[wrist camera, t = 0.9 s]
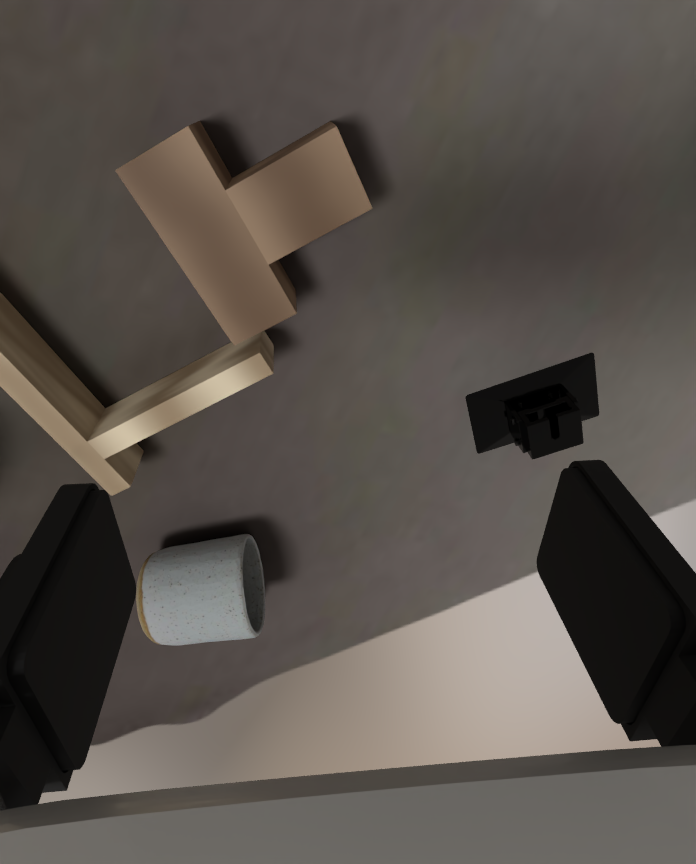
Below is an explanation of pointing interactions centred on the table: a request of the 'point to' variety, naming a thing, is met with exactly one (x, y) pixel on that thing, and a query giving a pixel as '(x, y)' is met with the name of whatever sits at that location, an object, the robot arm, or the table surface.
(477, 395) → the build plate
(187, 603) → the ceramic mug
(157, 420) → the light wooden angled piece
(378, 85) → the table surface
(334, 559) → the table surface
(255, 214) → the tee block
